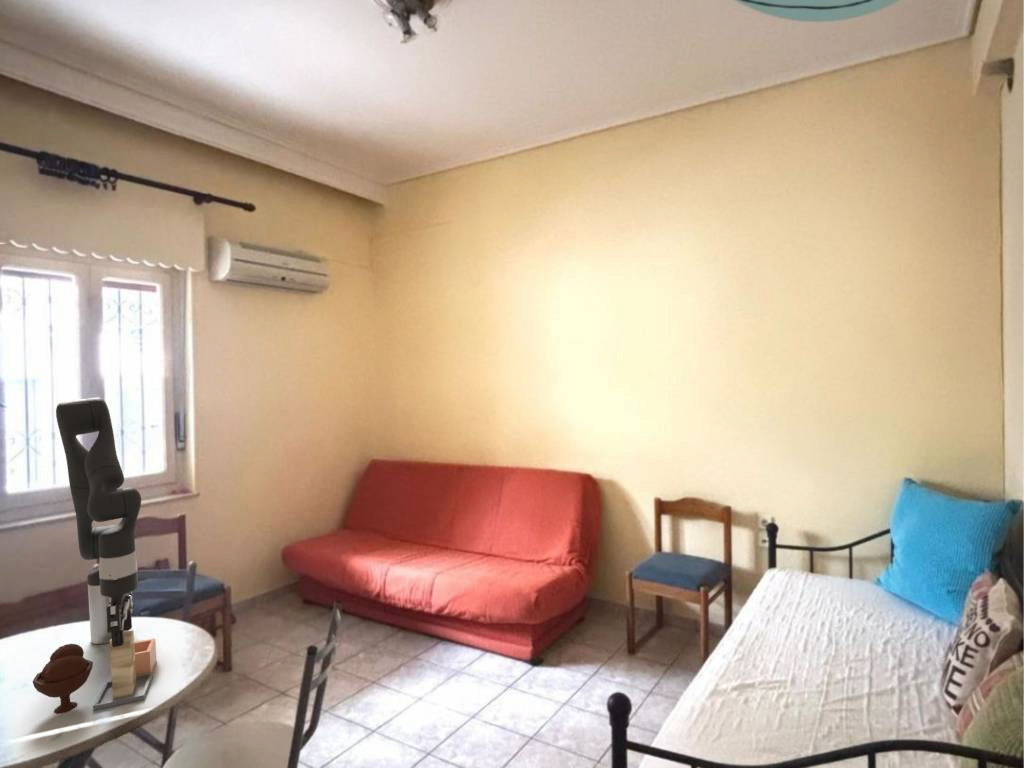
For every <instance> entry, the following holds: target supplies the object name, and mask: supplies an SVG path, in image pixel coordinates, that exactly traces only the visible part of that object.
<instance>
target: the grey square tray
mask: <svg viewBox="0 0 1024 768" xmlns="http://www.w3.org/2000/svg"><path fill="white" fill-rule="evenodd" d="M153 678H154V671H152V672H151V673H146V674H141V675H136V688H135V690H134V692H133V694H132V695H127V696H122V697H117V698H113V692H112V680H109V681H105V683H104V685H103V686H102V688H101V690H100V693H99V694H98V696H97V698H96V700H95V702H94V703H93V705H92V711H93V712H97V711H101V710H106V709H110V708H115V707H120V706H124V705H125V706H126V705H128V704H133V703H137V702H142V701H145V699H146V697H147V694H148V691H149V689H150V686H151V684H152V681H153Z"/></svg>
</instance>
